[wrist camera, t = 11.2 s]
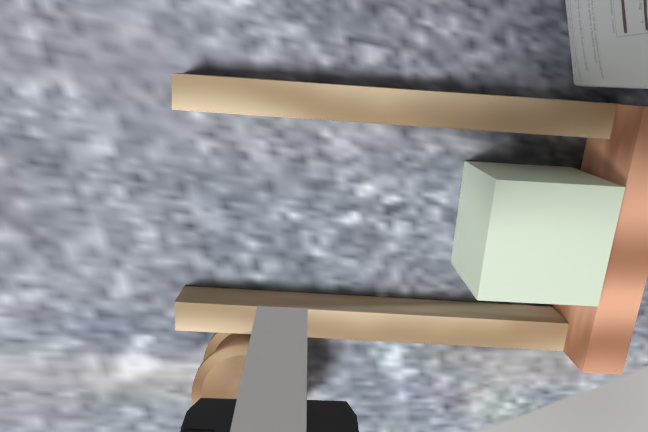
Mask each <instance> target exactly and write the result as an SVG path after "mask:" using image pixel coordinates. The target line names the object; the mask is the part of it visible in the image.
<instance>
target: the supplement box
mask: <svg viewBox="0 0 648 432" xmlns="http://www.w3.org/2000/svg"><path fill="white" fill-rule="evenodd" d="M565 3H566V12H567V22H568V32H569V41H570V50H571V60H572V69H573V79H574V84H575V85H576V86H586V87H612V88H638V89H648V0H565Z"/></svg>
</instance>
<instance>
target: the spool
mask: <svg viewBox="0 0 648 432" xmlns="http://www.w3.org/2000/svg"><path fill="white" fill-rule="evenodd" d="M250 336H251V334H237V333H218V332H216V333H215V334H214V336H213V337H212V338H211V340H210V342H209V344H208V346H207V349H206V352H205V355H204V361H203V363H202V364H201V366H200V367H199V369H198V371H197V374H196V376H195V379H194V382H193V387H192V400H193V404H195V403H196V402H197V401H198V400H199V399H200V398H221V399H237V397H238V392H239V387H240V383H241V378H242V373H243V369H244V364H245V360H246V355H247V350H248V346H249V341H250Z"/></svg>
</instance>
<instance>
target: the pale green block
mask: <svg viewBox="0 0 648 432" xmlns="http://www.w3.org/2000/svg"><path fill="white" fill-rule="evenodd" d="M624 191H625V187H624V186H621V185H618V184H616V183H613V182H610V181H608V180H605V179H602V178H600V177H597V176H594V175H592V174H589V173H586V172H584V171H581V170H578V169H576V168H573V167H561V166H544V165H526V164H509V163H492V162H475V161H465V164H464V171H463V178H462V186H461V193H460V200H459V207H458V215H457V222H456V229H455V237H454V244H453V251H452V258H451V264H452V265H453V267H454V268H455V269H456V271H457V272H458V274H459V275H460V277H461V278H462V279H463V281H464V282H465V284H466V285H467V287H468V288H469V289H470V291H471V292H472V294H473V295H474V297H475V298H476V299H477V300H480V301H500V302H520V303H539V304H559V305H579V306H598V305H599V301H600V296H601V292H602V287H603V283H604V279H605V274H606V270H607V266H608V261H609V257H610V252H611V248H612V244H613V239H614V235H615V231H616V226H617V222H618V217H619V213H620V209H621V204H622V200H623V196H624Z"/></svg>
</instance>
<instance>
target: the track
mask: <svg viewBox="0 0 648 432" xmlns="http://www.w3.org/2000/svg"><path fill="white" fill-rule="evenodd" d="M172 110H184V111H199V112H214V113H229V114H244V115H259V116H274V117H289V118H303V119H318V120H333V121H348V122H363V123H378V124H393V125H408V126H423V127H438V128H453V129H468V130H482V131H497V132H512V133H527V134H542V135H557V136H572V137H587V140H586V145H585V150H584V155H583V160H582V164H581V169H580V170H581V171H584V172H586V173H589V174H592V175H594V176H597V177H600V178H602V179H605V180H608V181H610V182H613V183H616V184H618V185H621V186H624V187H625V191H624V196H623V200H622V204H621V209H620V213H619V217H618V222H617V226H616V231H615V235H614V239H613V244H612V248H611V252H610V257H609V261H608V266H607V270H606V274H605V279H604V283H603V287H602V292H601V296H600V301H599V305H598V306H579V305H559V304H552V307H551V306H533V305H515V304H497V303H479V302H462V301H444V300H426V299H408V298H390V297H373V296H355V295H337V294H319V293H301V292H283V291H266V290H248V289H230V288H212V287H194V286H184V288H183V289H182V291H181V293H180V294H179V296H178V297H177V299H176V301H175V330H180V331H199V332H218V333H237V334H251V332H252V327H253V323H254V318H255V313H256V309H257V306H268V307H291V308H308V326H307V337H312V338H330V339H349V340H368V341H386V342H405V343H424V344H443V345H461V346H480V347H499V348H518V349H536V350H555V351H564V352H565V354H566V355H567V356H568V357H569V358H570V359H571V360H572V361H573V363H574V364H575V365H576V366H577V367H578V368H579V369H580V370H581V372H583V373H603V374H622V373H623V369H624V365H625V361H626V357H627V354H628V350H629V346H630V342H631V338H632V334H633V330H634V326H635V323H636V319H637V315H638V311H639V307H640V303H641V299H642V296H643V292H644V288H645V284H646V280H647V276H648V106H643V105H633V104H618V103H604V102H589V101H575V100H561V99H546V98H532V97H517V96H503V95H488V94H474V93H460V92H445V91H431V90H416V89H402V88H388V87H373V86H359V85H344V84H330V83H315V82H301V81H287V80H272V79H258V78H243V77H229V76H215V75H200V74H186V73H172Z"/></svg>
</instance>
